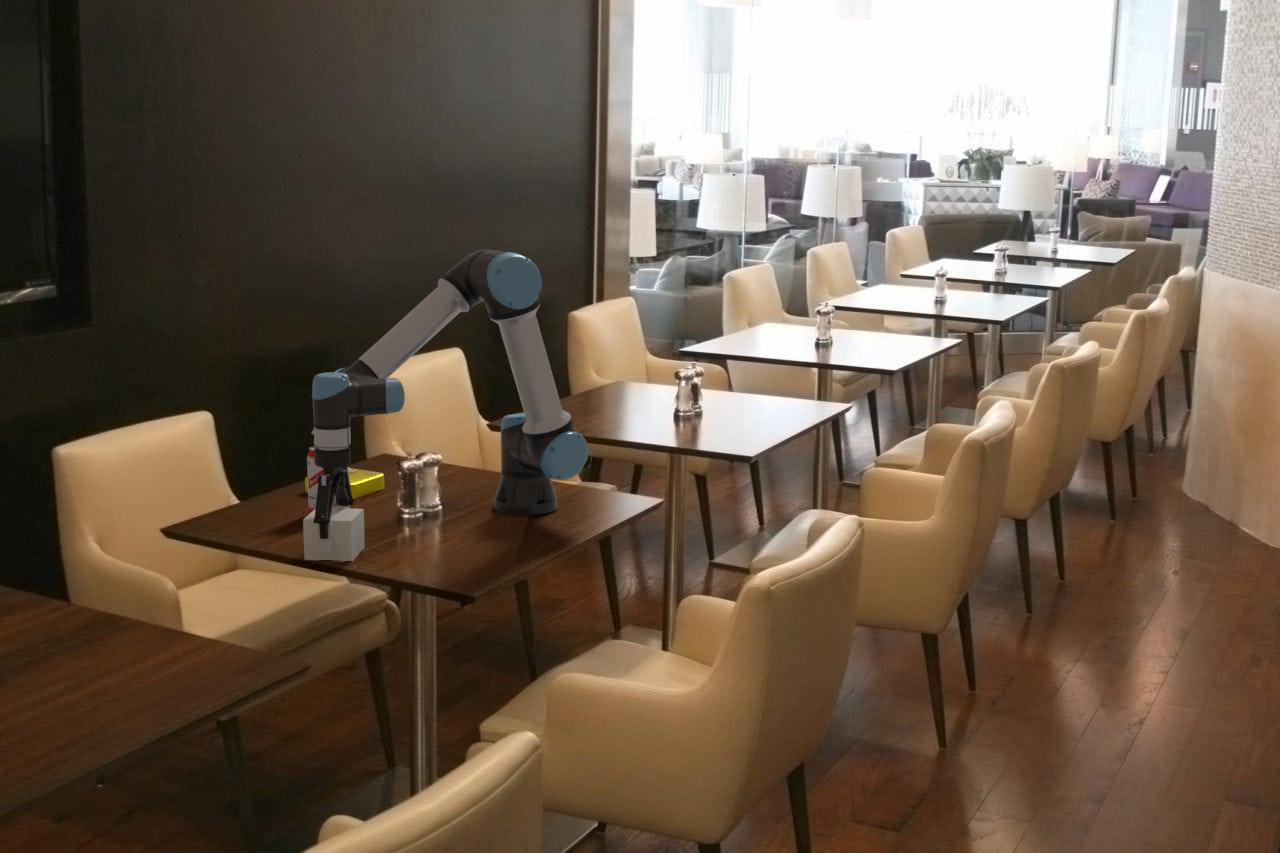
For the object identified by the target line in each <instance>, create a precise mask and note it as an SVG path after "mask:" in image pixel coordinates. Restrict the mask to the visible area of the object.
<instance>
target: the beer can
mask: <svg viewBox="0 0 1280 853" xmlns="http://www.w3.org/2000/svg"><path fill="white" fill-rule="evenodd" d="M316 447H317V446H315V445H313V446H311V447H309V448H308V449H309V450H308V451H309V452H308V453H307V457H306V463H307V464H306V465H307V477H308V494H307V500H308V501H307V502H308V513H309V514H310V513H311V512H312V511H314V510H315V509H316V500H317V491H318V476H319V475H322V474H323V471H324V469H323V468H322V467H318V466H316V465H315V461H314V449H315V448H316ZM336 503H337V499H336V497H334V502H333V508H336V506H337V504H336Z"/></svg>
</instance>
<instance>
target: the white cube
mask: <svg viewBox="0 0 1280 853" xmlns="http://www.w3.org/2000/svg"><path fill="white" fill-rule="evenodd" d="M322 517H324V516H322ZM314 518H315V510H314V511H312V512H311V513H309V514H308V515H306V516H305V517H304V518H303V520H302V521H303V522H302V524H303V526H302V527H303V529H302V532H303V558H304V561H319V560H340V561H339V562H345V561H352V562H353V561H354V560H355V559H356V558H357V557H358V556H359V555H360V554H361V553H362V552H363V551H364V550H365V548H366V546H365V543H366V542H365V509H364V508H332V513H331V518H330V522H332V552H333V553H332V554H331V553H319V542H318V523H314V522H313V519H314ZM363 549H364V550H363ZM362 550H363V551H362ZM361 551H362V552H361ZM360 552H361V553H360ZM359 553H360V554H359Z"/></svg>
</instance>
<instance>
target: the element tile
mask: <svg viewBox="0 0 1280 853" xmlns="http://www.w3.org/2000/svg"><path fill="white" fill-rule="evenodd" d="M347 467H348V466H347ZM348 475H349V481H350V486H351V491H352V496H353V498H352V500H353V499H354V500H357V499H359V497H360V498H363V497H365V496H364V495H366V496H368V495H367V494H369V495H371V494H370V493H372V494H374V493H373V492H375V493H377V492H376V491H378V492H380V491H379V490H381V491H383V490H382V489H384V490H385V474H384V473H383V472H378V471H372V470H366V469H358V468H352V467H348ZM304 485H305V486H304V487H305V488H304V489H305V490H304V491H305V492H306V493H305V494H307V493H308V476H306V477H304ZM362 496H363V497H362Z"/></svg>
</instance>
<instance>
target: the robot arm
mask: <svg viewBox="0 0 1280 853" xmlns="http://www.w3.org/2000/svg"><path fill="white" fill-rule="evenodd" d="M542 285H543V282H542V276H541V272H540V270H539V268H538V267H537V265H536V264H535V263H534V262H533V261H532V260H531V259H529V258H528V257H526V256H523V255H521V254H520V253H518V252H517V253H516V252H511V251H510V252H509V251H507V252H506V251H501V250H496V249H490V248H489V249H488V248H486V249H479V250H477V251H474V252H472V253H470V254H468V255H467V256H465V257H464V258H462V259H461V260H460V261H459V262H457V263H456V264H455V265H454V266H452V268H450V269H449V270H448V271H447V272H446V273H445V274H444V275H442V276H441V277H440V278H439V279H438V281H437V287H436V288H435V289H434V290H433V291H431V293H429V294H427V296H426V297H425V298H424V299H423V300H422V301H421V302H419V303H418V304H417V305H416V306H415V307H414V308H413V309H412V310H411V311H409V312H408V314H406V315H405V316H404V317H403V318H402V319H401V320H399V322H398V323H396V324H395V325H394V326H393V327H391V329H390V330H389V331H388V332H386V333H385V334H384V335H383V336H382V337H381V338H380V339H379V340H378V341H377V342H375V343H374V344H373V345H372V346H371V347H370V348H369V349H367V351H365V352H364V353H363V354H362V355H361V356H360V357H359V358H358V359H356V360H355V361H354V362H353V363H352V364H351V365H350V366H349V367H341V368H338V369H336V370H335V371H334V372H331V371H330V372H322V373H321V372H320V373H317V374H316V375H315V376H314V377H313V380H312V388H311V390H312V393H311V397H312V411H313V412H312V413H313V414H312V415H313V430H311V432H310V433H311V435H313V444H314V445H313V446H317V447H316V448H315V449H314V461H315V465H316V466H318V467H322V468H323V469H324V471H323V474H322V475H319V476H318V491H317V500H316V509H315V518H314V519H313V522H314V523H318V542H319V553H331V554H332V553H333V552H332V522H330V518H331V513H332V508H333V502H334V497H336V503H337V504H338V505H336V508H350V506H354V503H355V502H354V500H355V499H354V500H352V498H353V496H352V491H351V486H350V481H349V475H348V466H349V465H351V463H352V458H351V456H352V455H351V454H352V452H351V451H352V450H351V447H350V445H351V443H352V442H351V439H352V438H351V418H354V417H355V418H356V417H365V416H377V415H389V414H393V413H398V412H400V411H402V410H403V409H404V408H403V407H404V404H405V398H406V397H405V389H404V386H403V383H402V382H401V381H400V380H399V379H398V378H396V377H391V375H393V374H394V373H395V372H396V371H397V370H399V368H400V367H402V366H403V365H404V364H405V363H406V362H407V361H408V360H409V359H411V358H412V357H413V356H414V355H415V354H416V353H417V352H418V351H419V350H420V349H421V348H423V346H425V345H426V344H427V343H428V342H429V341H430V340H431V339H432V338H433V337H434V336H436V335H437V334H438V333H439V332H440V331H441V330H442V329H444V328H445V326H446V325H448V324H449V323H450V322H451V321H452V320H453V319H454V318H455V317H456V316H458V315H459V314H460V313H468V312H469V311H470V310H471V309H472V308H473V307H475V306H476V305H478V304H480V303H482V302H484V304H485V308H486V310H487V311H486V312H487V313H488V317H489V319H490V321H492V322H494V323H496V324H497V325H498V327H499V330H500V334H501V338H502V342H503V345H504V348H505V352H506V355H507V358H508V362H509V364H510V369H511V372H512V375H513V379H514V382H515V385H516V388H517V392H518V397H519V400H520V402H521V406H522V410H523V412H521V413H512V414H507V415H504V416H503V417H502V418H501V422H500V424H501V425H500V431H499V432H500V459H501V460H500V462H501V463H500V468H501V469H500V470H501V472H500V474H501V475H500V479H499V483H498V485H497V489H496V492H495V495H494V498H493V508H494V510H495V511H497V512H500V513H501V514H507V515H514V516H515V515H516V516H536V515H537V516H538V515H543V514H548V513H552V512H554V511H555V510H557V509H558V497H557V495H556V491H555V488H554V485H553V481H552V480H558V481H567V480H570V479H572V478H573V477H575V476H577V475H578V474H579V473H580V472H582V470H583V469H584V466H585V464H586V463H587V460H588V458H589V446H588V443H587V440H586V438H584V436H583V435H582V434H581V433H579V432H578V431H576V430H575V429H576V428H575V425H574V422H573V419H572V416H571V413H570V412H568V411H566V410H564V409H563V407H562V404H561V400H560V397H559V393H558V390H557V387H556V386H557V385H556V382H555V378H554V376H553V375H554V374H553V372H552V368H551V364H550V361H549V357H548V354H547V350H546V346H545V343H544V340H543V336H542V332H541V329H540V325H539V321H538V318H537V312H538V310H539V308H540V306H541V304H540V300H539V296H540V292H542ZM390 377H391V378H390ZM322 516H324V517H322Z"/></svg>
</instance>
